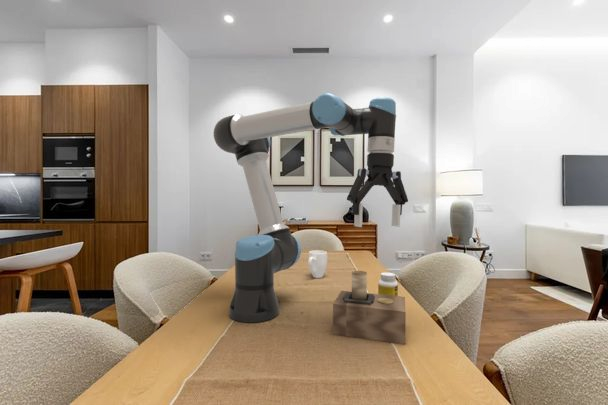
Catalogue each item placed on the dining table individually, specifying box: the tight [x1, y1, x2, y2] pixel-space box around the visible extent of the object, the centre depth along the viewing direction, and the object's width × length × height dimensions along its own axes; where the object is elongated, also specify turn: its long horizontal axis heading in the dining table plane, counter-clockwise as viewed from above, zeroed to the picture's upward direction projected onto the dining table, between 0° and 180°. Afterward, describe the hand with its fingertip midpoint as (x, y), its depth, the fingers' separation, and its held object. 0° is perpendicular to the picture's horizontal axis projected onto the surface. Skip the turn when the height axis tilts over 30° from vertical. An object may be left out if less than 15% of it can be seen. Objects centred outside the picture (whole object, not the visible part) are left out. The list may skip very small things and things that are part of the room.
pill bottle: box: [377, 272, 399, 296], centre depth 101 cm, size 6×6×11 cm
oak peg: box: [351, 270, 368, 301], centre depth 85 cm, size 4×4×8 cm
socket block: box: [332, 290, 407, 345], centre depth 84 cm, size 18×12×9 cm, turn 73°
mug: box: [308, 249, 328, 279], centre depth 138 cm, size 12×8×11 cm
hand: (377, 226), depth 90 cm, fingers open, 13 cm apart
